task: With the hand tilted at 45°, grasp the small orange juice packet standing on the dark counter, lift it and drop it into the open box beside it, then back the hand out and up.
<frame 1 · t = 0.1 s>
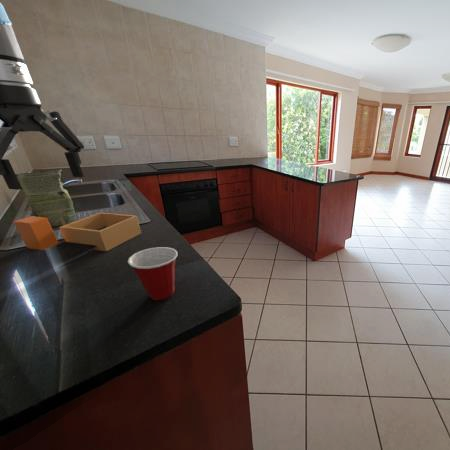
hand: (50, 182, 60), 29 cm above the counter, tool pointing down, fingers open, 13 cm apart
plastic cup: (164, 293, 64), on the counter
pouch: (61, 229, 102), on the counter
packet: (45, 250, 85), on the counter
open box: (106, 239, 93), on the counter
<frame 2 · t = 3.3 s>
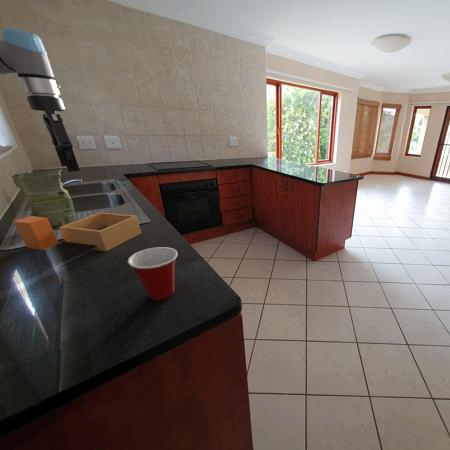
hand: (70, 168, 79), 28 cm above the counter, tool pointing down, fingers open, 13 cm apart
nothing on the counter moved.
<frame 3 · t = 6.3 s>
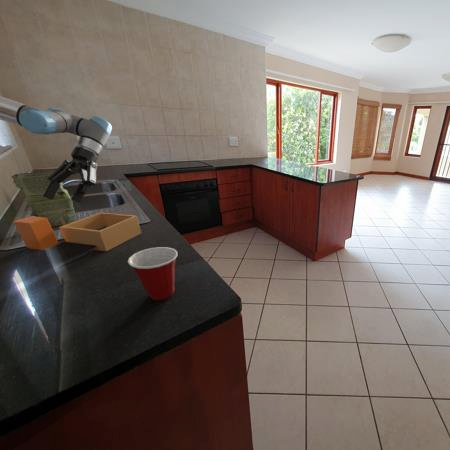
hand: (61, 199, 88), 16 cm above the counter, tool tilted 45°, fingers open, 13 cm apart
nothing on the counter moved.
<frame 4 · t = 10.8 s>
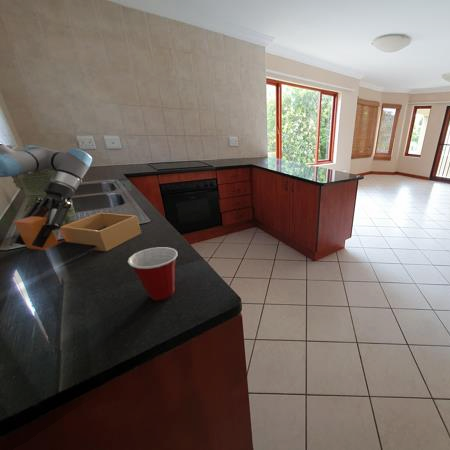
hand: (28, 245, 80), 4 cm above the counter, tool tilted 45°, fingers closed on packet, 7 cm apart
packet: (45, 250, 85), on the counter, touching gripper
everything else where it was.
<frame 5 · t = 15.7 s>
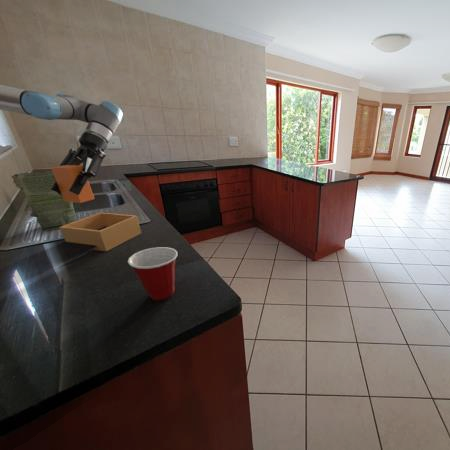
hand: (65, 192, 80), 21 cm above the counter, tool tilted 45°, fingers closed on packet, 7 cm apart
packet: (80, 200, 85), point 17 cm above the counter, touching gripper
everything else where it was.
when the fingers open (5 cm above the counter, at t = 20.8 s): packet stays where it is, resting on open box.
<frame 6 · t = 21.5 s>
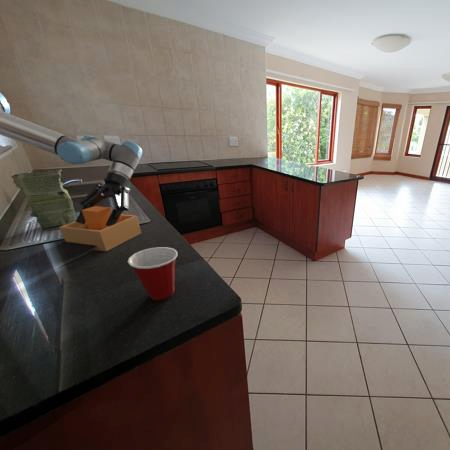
hand: (94, 224, 88), 7 cm above the counter, tool tilted 45°, fingers open, 13 cm apart
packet: (106, 237, 93), point 1 cm above the counter, touching open box
everything else where it was.
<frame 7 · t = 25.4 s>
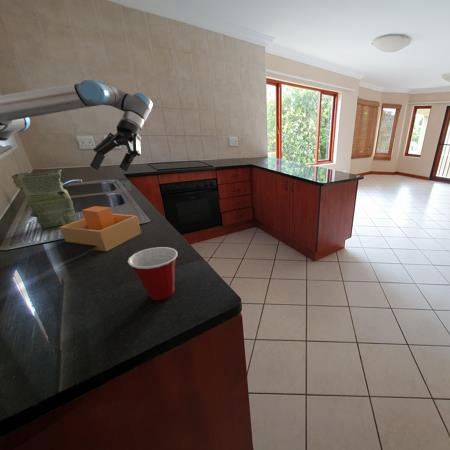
hand: (108, 168, 91), 26 cm above the counter, tool tilted 45°, fingers open, 13 cm apart
nothing on the counter moved.
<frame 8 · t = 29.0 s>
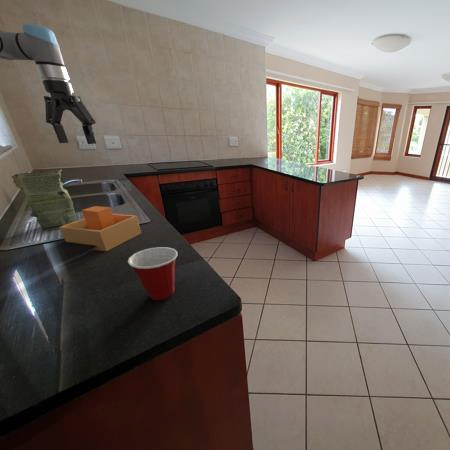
hand: (78, 143, 93), 35 cm above the counter, tool pointing down, fingers open, 13 cm apart
nothing on the counter moved.
at the end: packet inside the target area in the open box (0.0 cm from its centre), point 0.8 cm above the open box's base; the gripper is holding nothing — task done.
